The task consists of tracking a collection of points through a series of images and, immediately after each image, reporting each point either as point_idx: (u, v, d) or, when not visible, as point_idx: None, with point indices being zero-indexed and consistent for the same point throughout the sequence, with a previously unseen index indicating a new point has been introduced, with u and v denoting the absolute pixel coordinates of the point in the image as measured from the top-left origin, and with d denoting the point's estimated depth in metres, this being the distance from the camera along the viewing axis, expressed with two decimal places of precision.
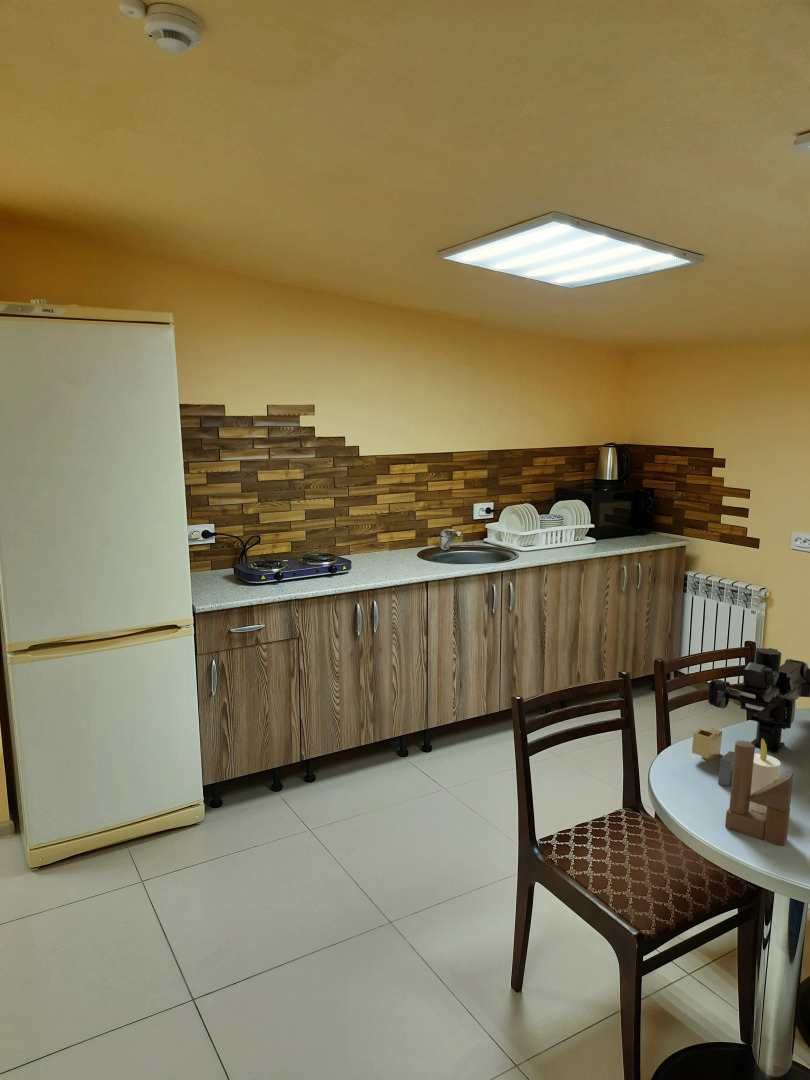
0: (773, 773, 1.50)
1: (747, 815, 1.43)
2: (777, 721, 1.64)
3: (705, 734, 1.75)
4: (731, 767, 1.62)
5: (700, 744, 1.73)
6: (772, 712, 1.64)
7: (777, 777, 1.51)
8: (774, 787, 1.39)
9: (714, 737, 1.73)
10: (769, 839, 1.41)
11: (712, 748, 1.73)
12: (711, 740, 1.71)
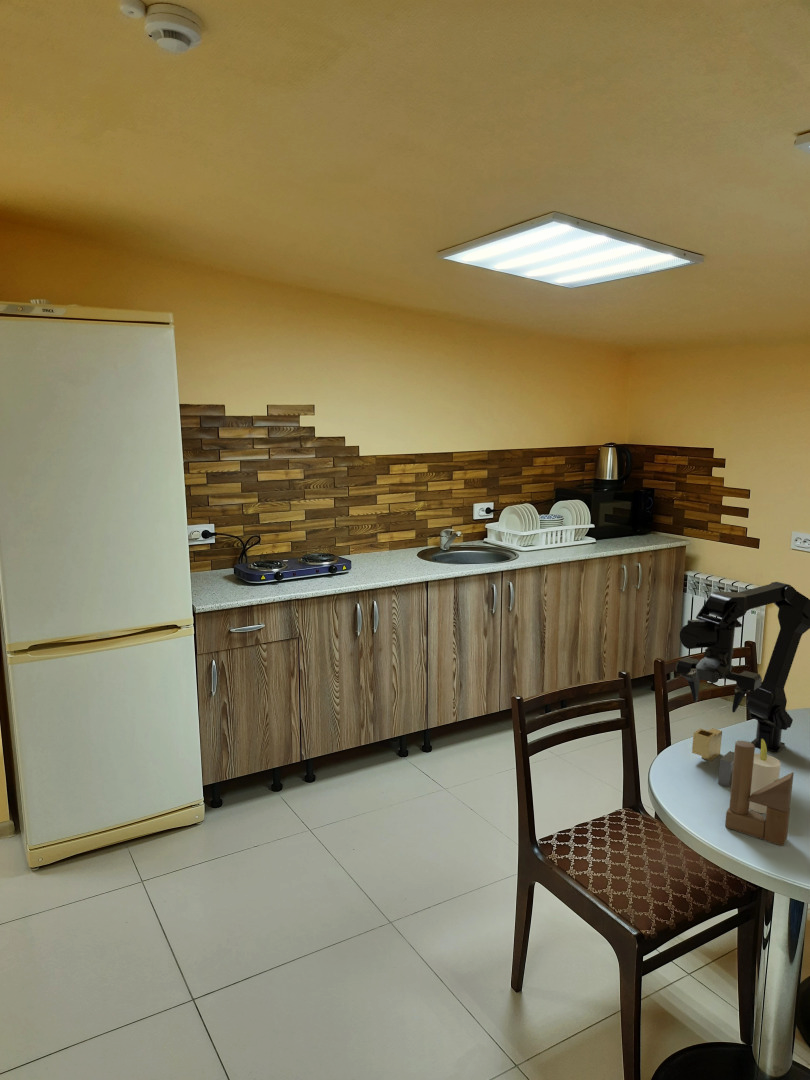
0: (773, 773, 1.50)
1: (747, 815, 1.43)
2: None
3: (705, 734, 1.75)
4: (731, 767, 1.62)
5: (699, 743, 1.73)
6: None
7: (777, 777, 1.51)
8: (774, 787, 1.39)
9: (714, 737, 1.73)
10: (769, 839, 1.41)
11: (712, 748, 1.73)
12: (711, 740, 1.71)
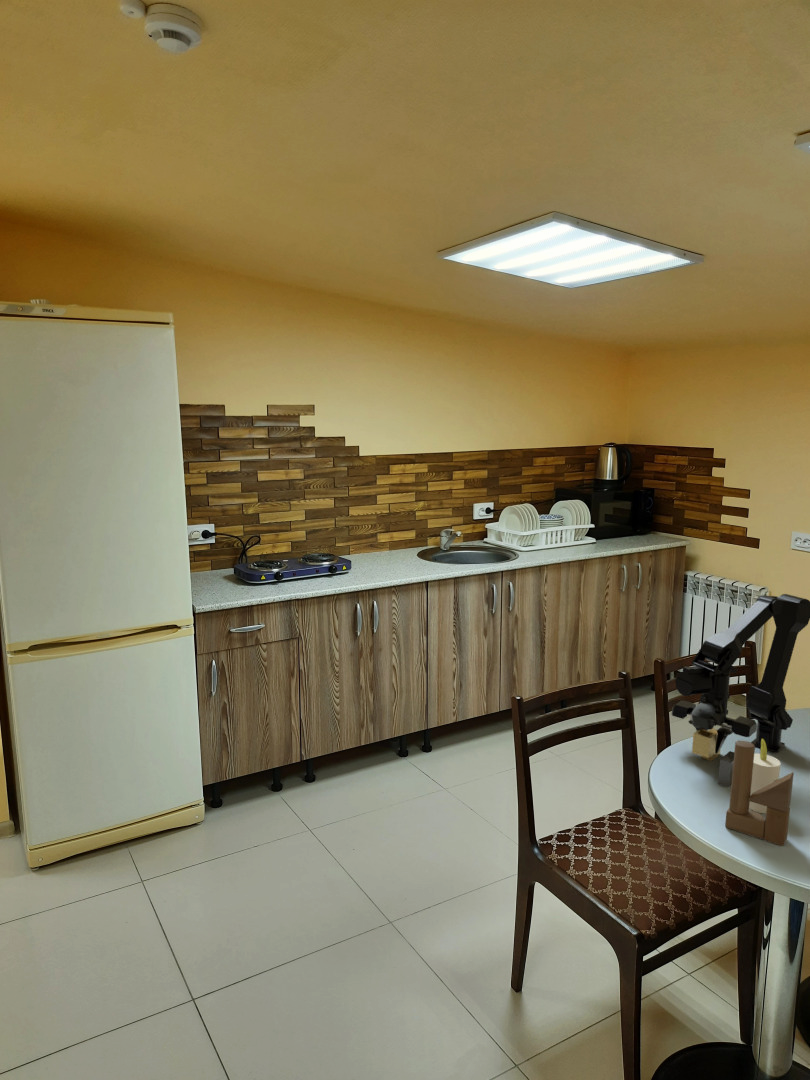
0: (773, 773, 1.50)
1: (747, 815, 1.43)
2: None
3: (705, 734, 1.75)
4: (731, 767, 1.62)
5: (699, 743, 1.73)
6: None
7: (777, 777, 1.51)
8: (774, 787, 1.39)
9: (714, 737, 1.73)
10: (769, 839, 1.41)
11: (712, 748, 1.73)
12: (711, 740, 1.71)
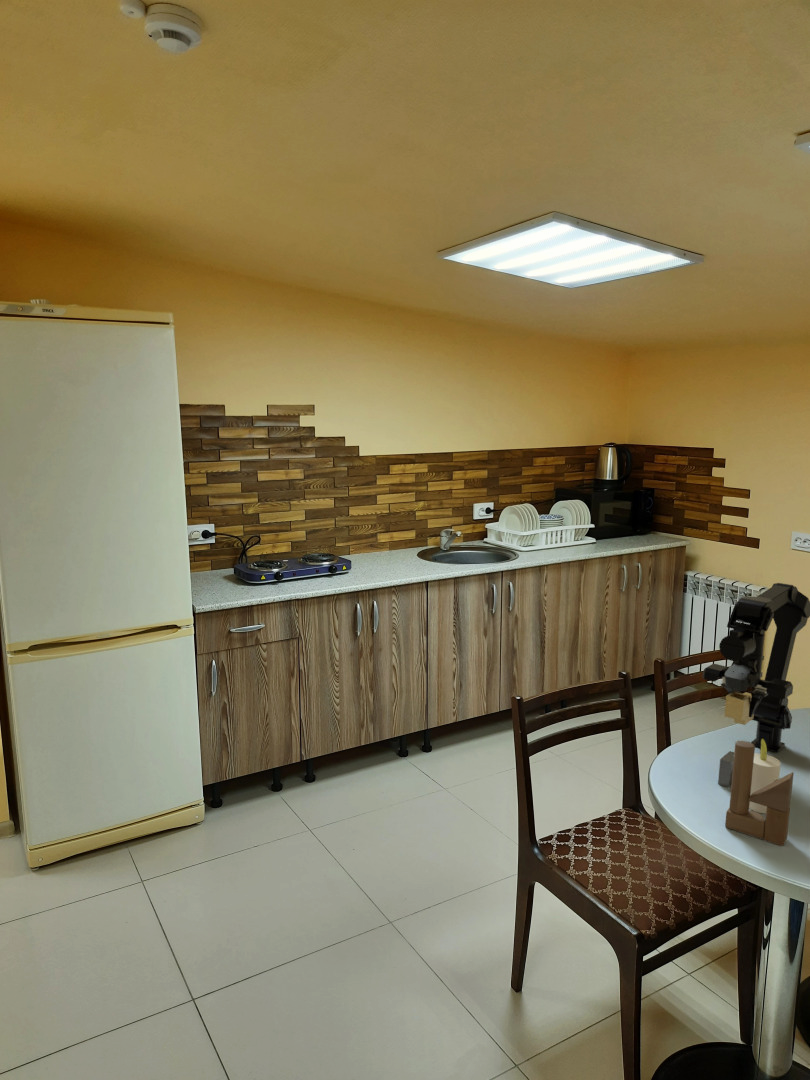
0: (773, 773, 1.50)
1: (747, 815, 1.43)
2: None
3: (738, 697, 1.68)
4: (731, 767, 1.62)
5: (732, 706, 1.66)
6: None
7: (777, 777, 1.51)
8: (774, 787, 1.39)
9: (748, 699, 1.66)
10: (769, 839, 1.41)
11: (746, 711, 1.66)
12: (745, 702, 1.65)
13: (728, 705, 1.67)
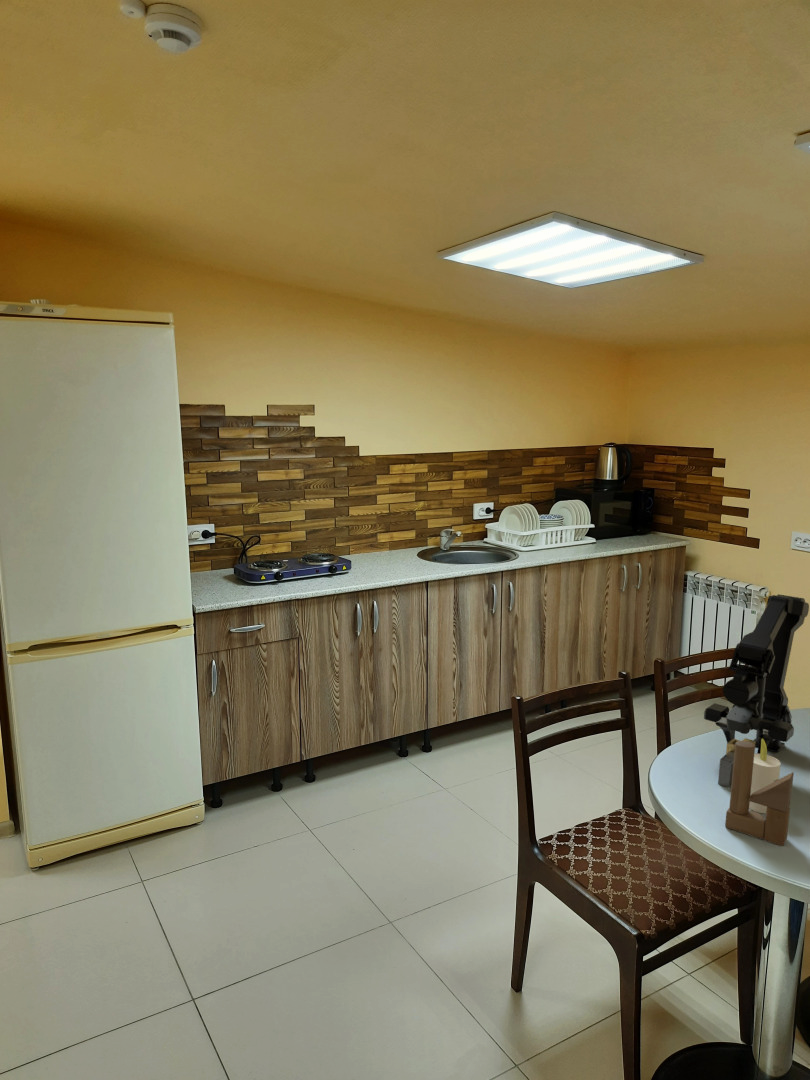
0: (773, 773, 1.50)
1: (747, 815, 1.43)
2: None
3: None
4: (731, 767, 1.62)
5: None
6: None
7: (777, 777, 1.51)
8: (774, 787, 1.39)
9: None
10: (769, 839, 1.41)
11: None
12: None
13: None
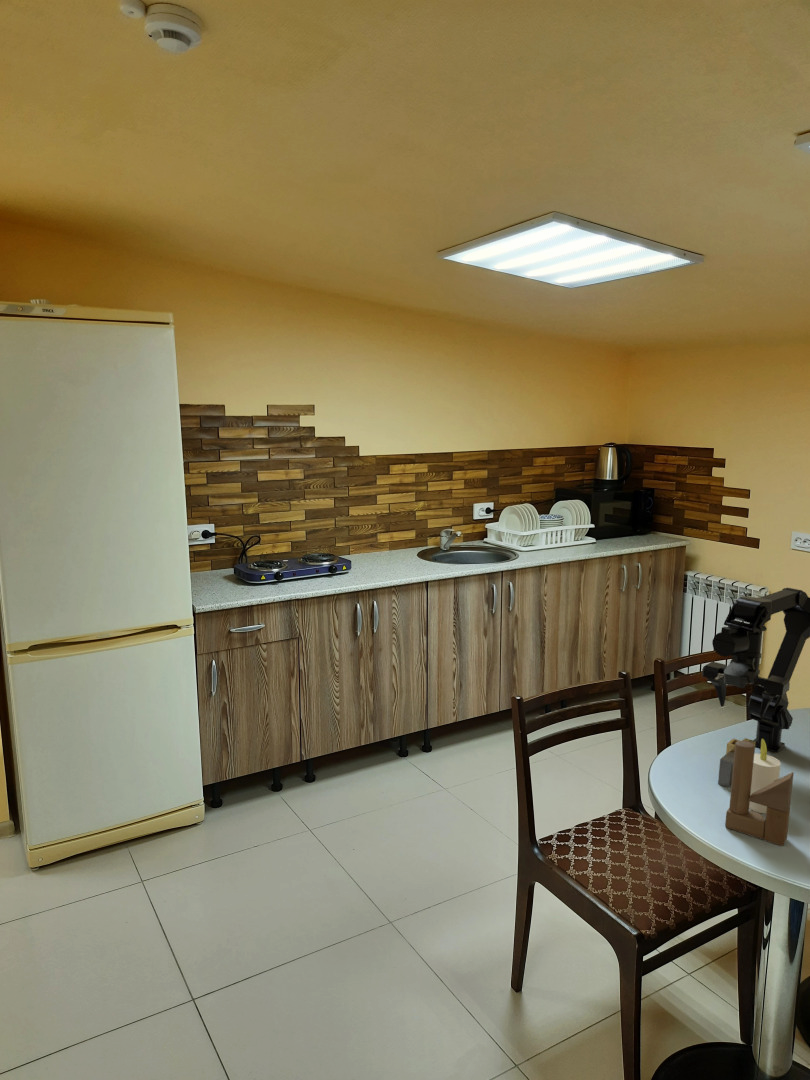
0: (773, 773, 1.50)
1: (747, 815, 1.43)
2: None
3: None
4: (731, 767, 1.62)
5: None
6: None
7: (777, 777, 1.51)
8: (774, 787, 1.39)
9: None
10: (769, 839, 1.41)
11: None
12: None
13: None
